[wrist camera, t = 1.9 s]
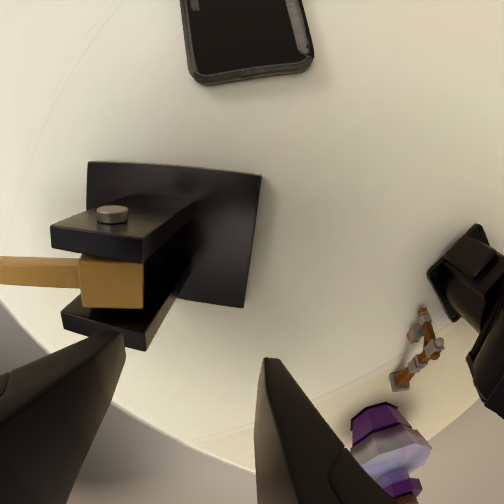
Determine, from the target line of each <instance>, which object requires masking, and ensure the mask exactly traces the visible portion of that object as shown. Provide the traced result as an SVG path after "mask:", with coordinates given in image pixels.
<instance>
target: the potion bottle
mask: <svg viewBox="0 0 504 504" xmlns="http://www.w3.org/2000/svg"><path fill="white" fill-rule="evenodd" d="M397 408H398V407H396V406H394V405H392V404H390V403H387V402H384V403H380V404H377V405H373V406H369V407H366V408H365V409H363V410H362V411H361V412H360V413H358V414H357V415H356V416H355V417H353V418H352V419H351V429H350V431H352V448H351V450H350V453H351V454H352V456H353V457H354V458H355V459H356V460H357V462H358V463H359V464H360V465H361V466H362V467H363V469H364V470H365V471H366V472H367V473H368V474H369V475H370V476H371V477H372V478H373V479H374V480H375V481H376V482H377V483H378V484H379V485H380V486H381V487H382V488H383V489H384V490H385V491H386V492H387V493H388V494H389V495H391V496H392V497H393V498H394V499H395V500H396V501H397V502H398V503H400V504H418V502H417V498H416V497H417V496H418V495H419V493H420V492H421V491H422V486H421V483H420V481H419V479H415V478H410V477H409V474H410V473H411V472H413V471H414V470H416V469H417V468H419V467H420V466H422V465H423V464H424V463H425V461H426V459H427V457H428V455H429V453H430V451H431V449H432V447H431V446H430V445H429V444H428V442H427V441H426V440H425V439H424V437H423V436H422V435H421V434H420V433H419V432H418V430H414V429H412V427H411V425H410V424H409V423H408V422H407V421H406V419H405V418H404V417H403V416H402V415H401V413H400V412H399V411H398V410H397Z"/></svg>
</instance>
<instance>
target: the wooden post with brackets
mask: <svg viewBox="0 0 504 504" xmlns="http://www.w3.org/2000/svg"><path fill="white" fill-rule="evenodd" d="M418 314H419V317H420V319H419V320H420V324H418V325H417V326H411V328H412V330H411V331H410V332H409V333H407V335H408V341H409V342H410V343H413V342H419V339H420V337H421V336H424V345H423V351H422V353H421V354H418V355H416V356H415V358H413V359H412V360H411V361H410V363H408V366H407V367H406V368H405V369H404V370H403V371H401V372H400V373H394V374H391V375H389V377H390V382H391V387H392V392H398V391H404V390H409V388H410V384H409V381H410V380H411V378H412V377H413V376H414V374H415V373H417V372H419V371H420V370H421V369H422V368H424V367H425V365H427V364H428V361H429V360H430V359H431V360H437V359H438V358H439V356H440V352H441V351H442V350H444V346H443V344H444V340H443V339H442V338H437V339H436V337H435V334H434V331H433V328H432V324H431V322H432V320H431V317H430V314H428V311H427V308H420V309H419V311H418ZM423 330H424V331H423Z"/></svg>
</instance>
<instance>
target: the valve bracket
mask: <svg viewBox="0 0 504 504" xmlns="http://www.w3.org/2000/svg"><path fill="white" fill-rule="evenodd" d="M261 180H262V175H261V174H254V173H247V172H239V171H230V170H222V169H213V168H203V167H192V166H181V165H169V164H154V163H138V162H116V161H91V162H88V168H87V195H86V211H85V212H82V213H79V214H77V215H74V216H72V217H69V218H67V219H64V220H62V221H60V222H57V223H55V224H52V225H51V226H50V234H51V247H52V248H55V249H60V250H65V251H71V252H76V253H82V254H87V255H93V256H98V257H104V258H109V259H115V260H121V261H127V262H133V263H139V264H142V263H143V262H144V298H143V308H142V309H125V308H91V307H83V305H82V298H81V294H80V295H79V296H77V297H76V298H75V299H74V300H73V301H72V302H71V303H69V304H68V305H67V306H66V307H65V308H64V309H63V310H62V311H61V318H62V322H63V327H64V329H66V330H69V331H72V332H75V333H78V334H81V335H85V336H88V337H91V336H93V335H95V334H98V333H100V332H102V331H104V330H107V329H113V330H117V331H120V332H121V333H122V334H123V337H124V345H125V347H128V348H132V349H136V350H140V351H144V352H145V351H146V350H147V349H148V347H149V345H150V343H151V341H152V340H153V338H154V336H155V334H156V332H157V331H158V329H159V327H160V325H161V324H162V322H163V320H164V318H165V317H166V315H167V313H168V311H169V310H170V308H171V306H172V305H173V303H174V301H175V299H176V298H179V299H185V300H191V301H197V302H203V303H209V304H216V305H222V306H229V307H236V308H244V302H245V294H246V287H247V280H248V273H249V266H250V259H251V251H252V244H253V237H254V230H255V223H256V215H257V208H258V201H259V194H260V187H261Z"/></svg>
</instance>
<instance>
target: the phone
mask: <svg viewBox="0 0 504 504" xmlns="http://www.w3.org/2000/svg"><path fill="white" fill-rule="evenodd" d="M180 5H181V14H182V23H183V31H184V39H185V47H186V55H187V62H188V69H189V72H190V74H191V76H192V77H193V78H194V79H195V80H196V81H197V82H198V83H200V84H202V85H206V86H209V85H216V84H222V83H227V82H233V81H239V80H245V79H252V78H259V77H267V76H275V75H285V74H296V73H301V72H304V71H305V70H307V69H308V68H309V67H310V65H311V63H312V61H313V59H314V48H313V44H312V39H311V35H310V31H309V27H308V23H307V19H306V15H305V11H304V8H303V4H302V0H180Z"/></svg>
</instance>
